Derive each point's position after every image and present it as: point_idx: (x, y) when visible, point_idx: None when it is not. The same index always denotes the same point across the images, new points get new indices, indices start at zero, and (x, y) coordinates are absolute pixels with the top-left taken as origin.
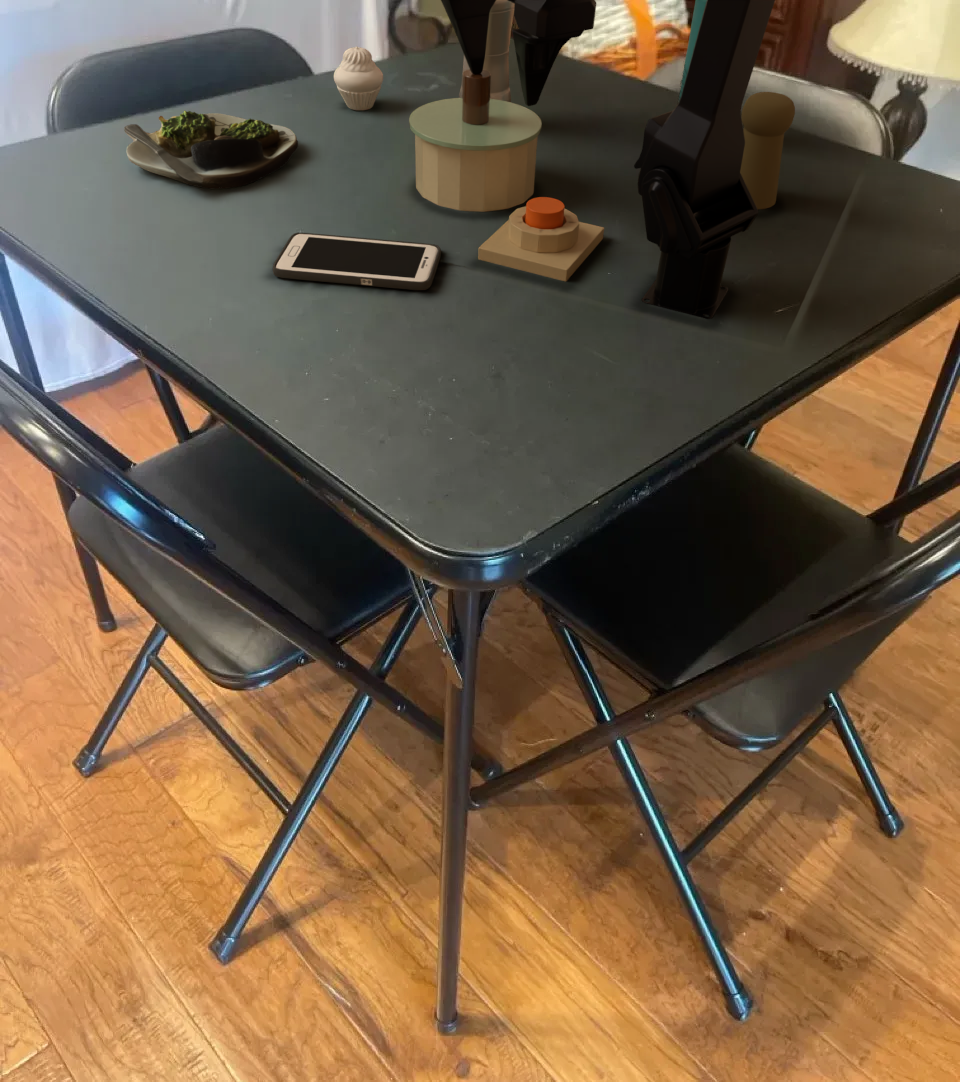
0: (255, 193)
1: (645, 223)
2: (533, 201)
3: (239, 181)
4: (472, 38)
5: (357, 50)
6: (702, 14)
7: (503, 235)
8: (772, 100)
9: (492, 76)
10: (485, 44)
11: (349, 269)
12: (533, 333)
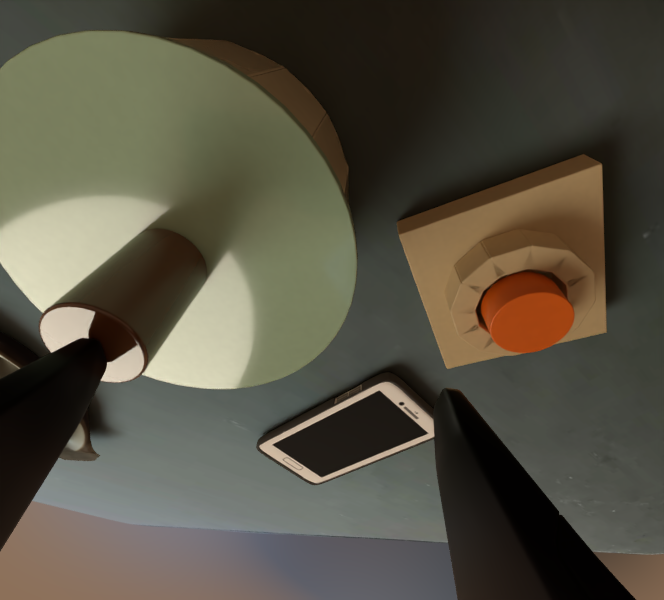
0: (112, 405)
1: None
2: (501, 329)
3: (86, 415)
4: (10, 486)
5: None
6: None
7: (450, 325)
8: None
9: None
10: (10, 410)
11: (363, 456)
12: (605, 403)
